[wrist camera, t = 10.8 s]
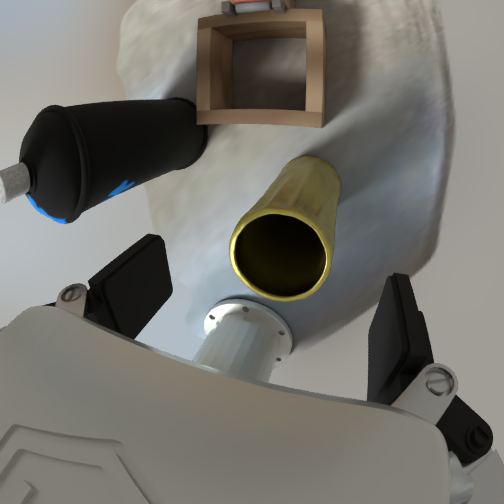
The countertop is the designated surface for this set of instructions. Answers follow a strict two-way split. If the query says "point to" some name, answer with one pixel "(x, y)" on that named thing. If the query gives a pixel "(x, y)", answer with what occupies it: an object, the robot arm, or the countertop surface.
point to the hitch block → (256, 27)
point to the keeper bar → (252, 5)
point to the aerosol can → (100, 152)
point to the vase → (289, 233)
